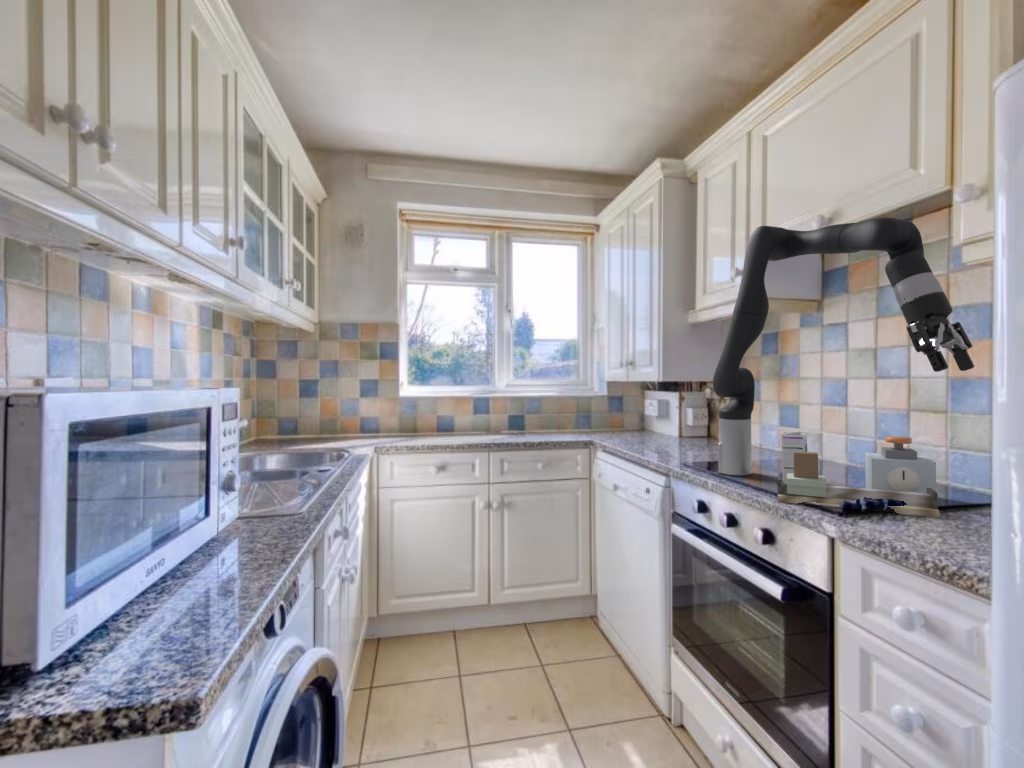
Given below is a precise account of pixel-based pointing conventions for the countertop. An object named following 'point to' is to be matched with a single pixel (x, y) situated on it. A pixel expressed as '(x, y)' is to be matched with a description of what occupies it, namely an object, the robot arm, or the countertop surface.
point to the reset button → (898, 441)
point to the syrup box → (791, 450)
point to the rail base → (836, 501)
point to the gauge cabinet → (900, 471)
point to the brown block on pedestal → (806, 476)
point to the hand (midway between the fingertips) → (954, 369)
